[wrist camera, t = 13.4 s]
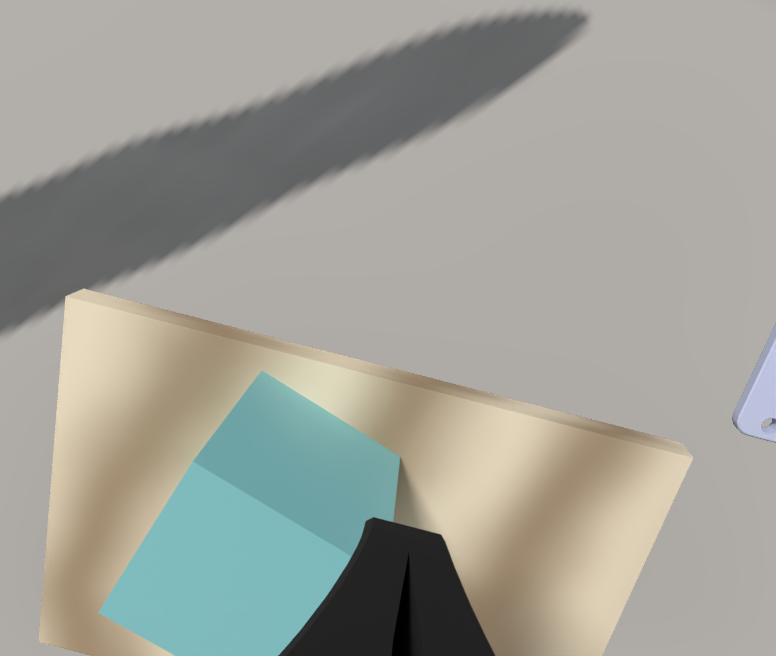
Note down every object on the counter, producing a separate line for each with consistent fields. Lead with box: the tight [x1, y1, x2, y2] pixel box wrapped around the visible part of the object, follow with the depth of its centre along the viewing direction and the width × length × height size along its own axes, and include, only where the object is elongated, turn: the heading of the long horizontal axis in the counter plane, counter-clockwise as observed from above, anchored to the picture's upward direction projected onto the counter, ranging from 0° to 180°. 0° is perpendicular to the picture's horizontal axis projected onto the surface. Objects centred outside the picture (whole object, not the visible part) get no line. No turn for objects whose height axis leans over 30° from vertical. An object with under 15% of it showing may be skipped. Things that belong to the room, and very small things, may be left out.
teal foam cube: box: [98, 371, 400, 656], centre depth 17 cm, size 5×5×6 cm
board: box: [39, 289, 693, 656], centre depth 19 cm, size 20×14×5 cm
